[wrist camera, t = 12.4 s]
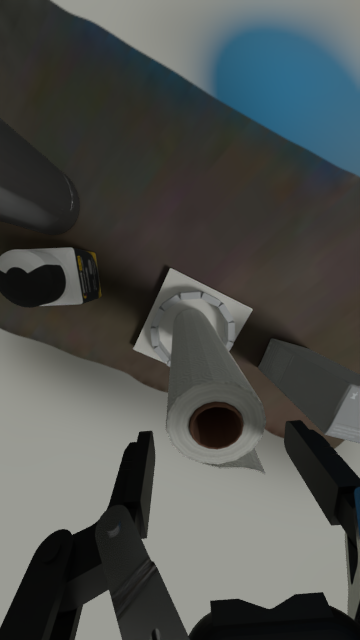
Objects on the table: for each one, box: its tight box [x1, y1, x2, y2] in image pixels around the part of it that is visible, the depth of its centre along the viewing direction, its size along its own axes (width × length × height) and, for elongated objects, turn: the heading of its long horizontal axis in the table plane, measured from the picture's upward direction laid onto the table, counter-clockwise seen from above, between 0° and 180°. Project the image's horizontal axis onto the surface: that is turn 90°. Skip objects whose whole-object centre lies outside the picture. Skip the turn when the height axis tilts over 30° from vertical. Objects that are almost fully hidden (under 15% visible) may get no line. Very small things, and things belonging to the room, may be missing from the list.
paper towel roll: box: [166, 309, 266, 474], centre depth 22 cm, size 7×6×21 cm
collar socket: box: [133, 268, 253, 366], centre depth 32 cm, size 15×15×4 cm
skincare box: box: [258, 338, 360, 443], centre depth 28 cm, size 8×7×16 cm
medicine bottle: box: [0, 247, 101, 307], centre depth 25 cm, size 7×7×12 cm
